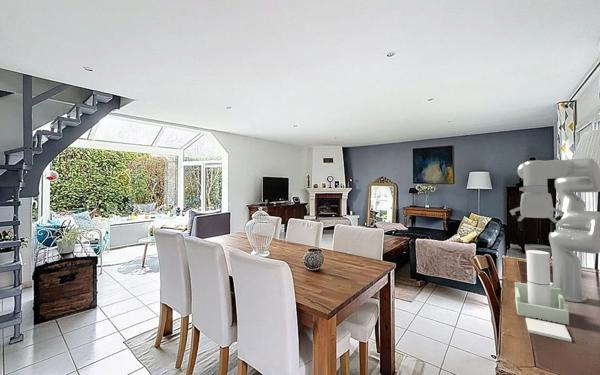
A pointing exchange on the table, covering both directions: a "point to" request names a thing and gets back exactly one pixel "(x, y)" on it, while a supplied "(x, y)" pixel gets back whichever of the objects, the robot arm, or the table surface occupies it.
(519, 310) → the frame
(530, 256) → the cylindrical container
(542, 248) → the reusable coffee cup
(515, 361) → the table surface
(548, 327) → the tile
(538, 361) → the table surface
